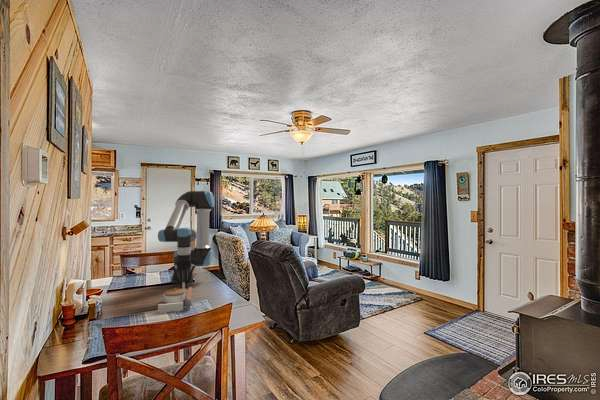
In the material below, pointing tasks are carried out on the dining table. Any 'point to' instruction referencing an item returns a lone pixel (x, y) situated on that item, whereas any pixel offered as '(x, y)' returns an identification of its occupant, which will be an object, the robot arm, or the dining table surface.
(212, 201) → the robot arm
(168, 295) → the lidded jar
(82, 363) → the dining table surface
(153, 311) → the dining table surface
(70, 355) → the dining table surface
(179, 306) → the socket channel
